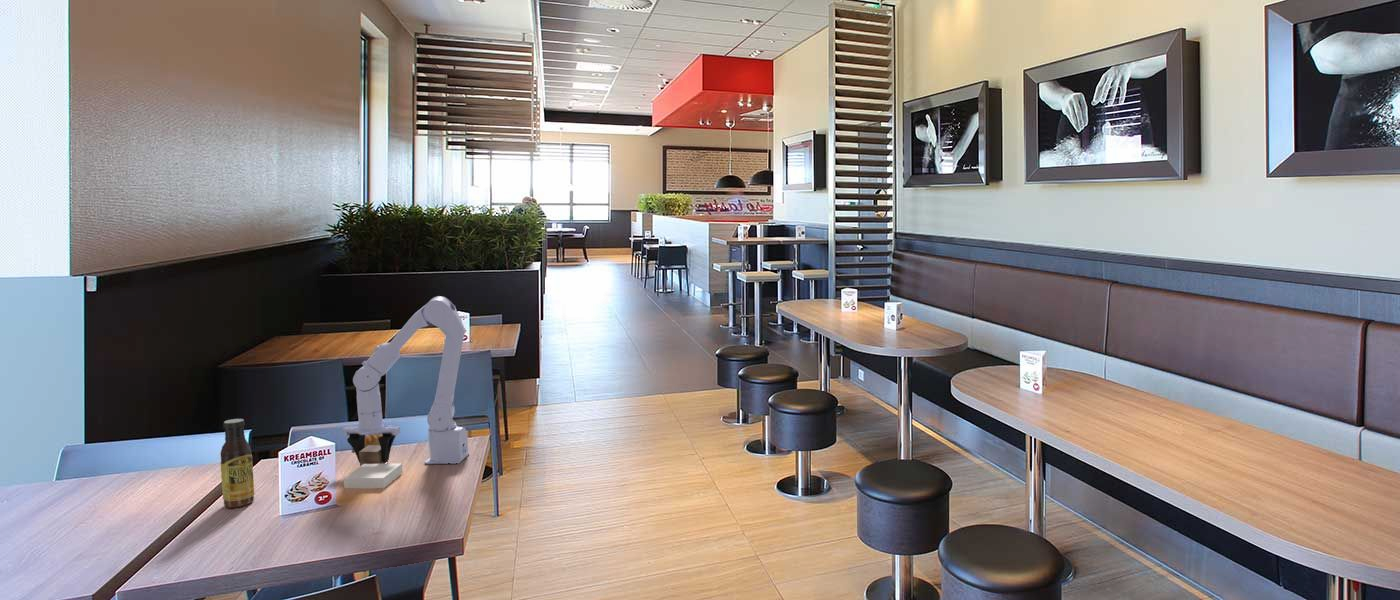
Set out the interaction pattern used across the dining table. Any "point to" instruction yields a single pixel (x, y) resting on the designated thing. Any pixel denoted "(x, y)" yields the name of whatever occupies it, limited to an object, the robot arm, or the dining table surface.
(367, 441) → the pastry
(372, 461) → the walnut block
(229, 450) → the sauce bottle
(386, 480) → the base block
